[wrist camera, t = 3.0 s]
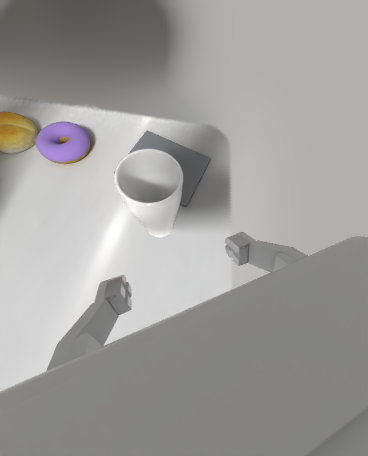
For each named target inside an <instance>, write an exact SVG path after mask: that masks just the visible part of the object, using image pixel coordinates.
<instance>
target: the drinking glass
mask: <svg viewBox="0 0 368 456" xmlns="http://www.w3.org/2000/svg"><path fill="white" fill-rule="evenodd" d="M114 180H115V185H116V188H117V190H118V191H119V193H120V195H121V197H122V199H123V201H124V202H125V204H126V205H127V207H128V208H129V210H130V211H131V212H132V214H133V215H134V216H135V217H136V218H137V219H138V220H139V221H140V222H141V223H142V225H143V226H144V227H145V228H146V229H147V231H148V232H149V233H150V234H151V235H153V236H155V237H164V236H166V235H168V234H169V233H170V232H171V231H172V229H173V226H174V221H175V218H176V215H177V212H178V209H179V206H180V202H181V197H182V188H183V172H182V169H181V167H180V165H179V163H178V162H177V161H176V160H175V159H174V158H173V157H172V156H171V155H169V154H168V153H166V152H163V151H160V150H156V149H141V150H137V151H134V152H132V153H130V154H128V155H127V156H125V157H124V158H123V159H122V160H121V161H120V162H119V164H118V165H117V167H116V170H115V175H114Z"/></svg>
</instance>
